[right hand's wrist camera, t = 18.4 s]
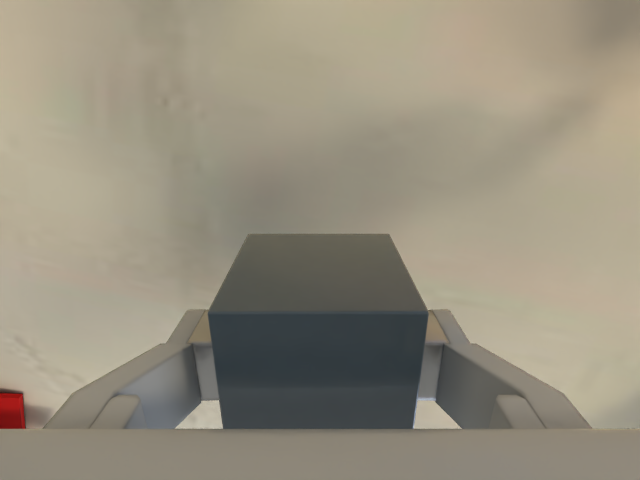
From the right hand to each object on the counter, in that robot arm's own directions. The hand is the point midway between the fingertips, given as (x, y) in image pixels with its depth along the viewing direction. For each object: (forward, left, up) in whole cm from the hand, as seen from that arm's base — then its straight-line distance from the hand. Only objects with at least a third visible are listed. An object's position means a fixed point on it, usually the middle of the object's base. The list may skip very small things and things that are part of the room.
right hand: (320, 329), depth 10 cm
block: (0, 0, -2) cm, 2 cm away
